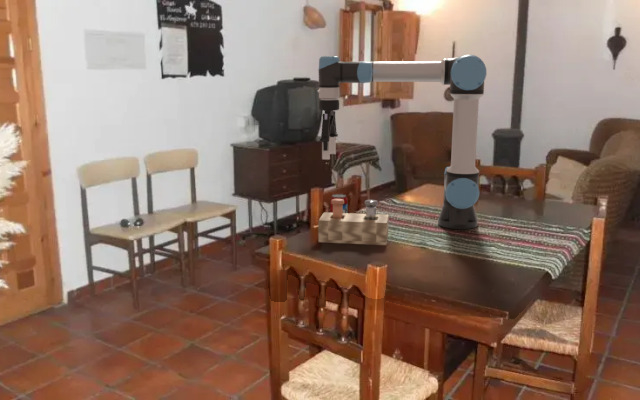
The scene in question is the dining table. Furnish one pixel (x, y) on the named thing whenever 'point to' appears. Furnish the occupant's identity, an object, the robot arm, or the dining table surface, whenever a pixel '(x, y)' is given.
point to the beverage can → (345, 205)
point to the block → (353, 229)
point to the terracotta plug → (337, 208)
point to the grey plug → (371, 209)
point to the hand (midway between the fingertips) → (329, 156)
